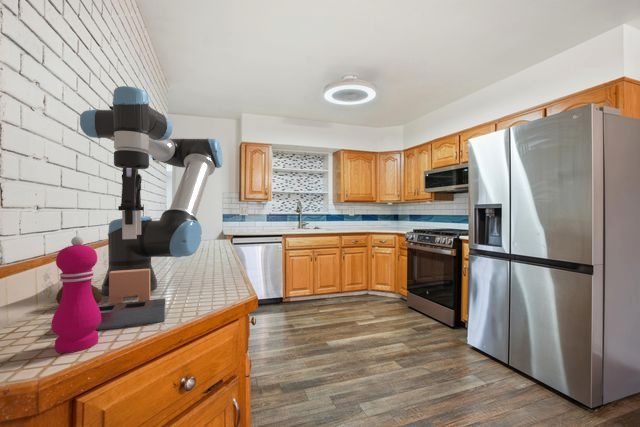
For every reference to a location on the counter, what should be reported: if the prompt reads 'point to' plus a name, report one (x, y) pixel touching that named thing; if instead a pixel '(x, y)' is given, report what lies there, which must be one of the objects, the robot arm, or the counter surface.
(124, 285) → the peach wedge-cut bar
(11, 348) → the counter surface
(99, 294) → the potato
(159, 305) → the rail
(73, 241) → the pepper mill
